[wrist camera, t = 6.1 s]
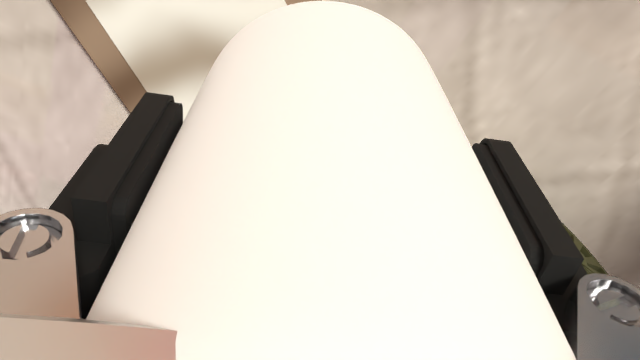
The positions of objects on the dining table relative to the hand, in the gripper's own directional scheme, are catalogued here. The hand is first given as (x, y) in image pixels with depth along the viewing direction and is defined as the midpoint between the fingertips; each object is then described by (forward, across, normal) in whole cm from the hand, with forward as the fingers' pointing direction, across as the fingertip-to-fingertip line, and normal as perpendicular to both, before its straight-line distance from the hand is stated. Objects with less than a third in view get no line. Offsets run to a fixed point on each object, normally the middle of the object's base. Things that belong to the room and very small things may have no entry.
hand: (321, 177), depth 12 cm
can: (+3, 0, 0) cm, 3 cm away
